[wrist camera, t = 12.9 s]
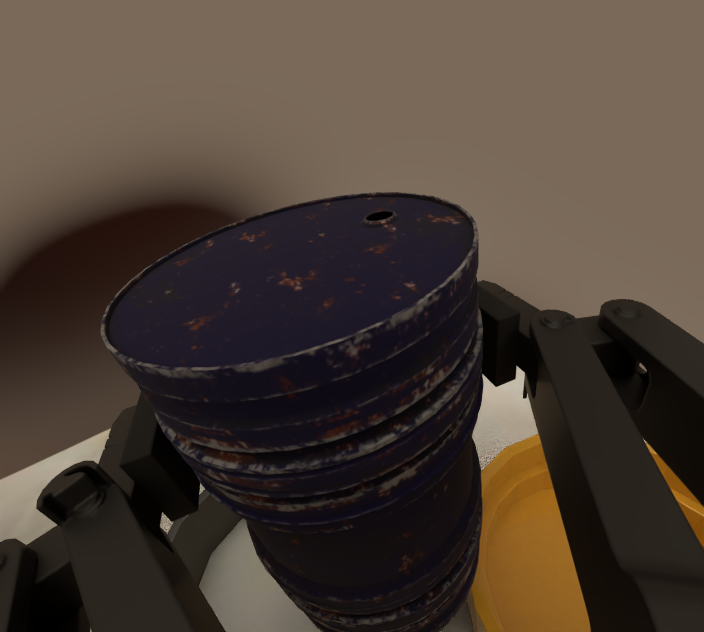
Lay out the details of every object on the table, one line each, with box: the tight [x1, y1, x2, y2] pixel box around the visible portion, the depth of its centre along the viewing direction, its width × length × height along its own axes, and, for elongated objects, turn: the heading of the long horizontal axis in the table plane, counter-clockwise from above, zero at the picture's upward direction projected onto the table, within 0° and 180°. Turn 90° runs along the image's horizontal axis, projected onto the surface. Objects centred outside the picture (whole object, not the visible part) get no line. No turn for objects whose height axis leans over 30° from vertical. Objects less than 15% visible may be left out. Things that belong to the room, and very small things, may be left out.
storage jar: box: [101, 192, 483, 632], centre depth 14 cm, size 10×10×15 cm
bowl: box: [467, 434, 704, 632], centre depth 19 cm, size 16×16×6 cm
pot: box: [167, 489, 242, 585], centre depth 23 cm, size 21×16×5 cm
